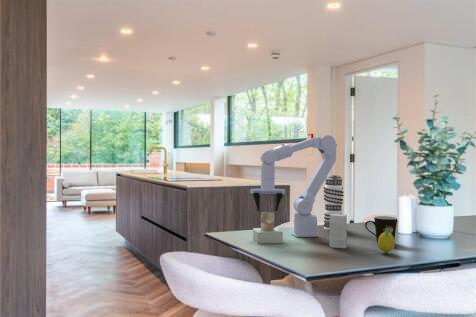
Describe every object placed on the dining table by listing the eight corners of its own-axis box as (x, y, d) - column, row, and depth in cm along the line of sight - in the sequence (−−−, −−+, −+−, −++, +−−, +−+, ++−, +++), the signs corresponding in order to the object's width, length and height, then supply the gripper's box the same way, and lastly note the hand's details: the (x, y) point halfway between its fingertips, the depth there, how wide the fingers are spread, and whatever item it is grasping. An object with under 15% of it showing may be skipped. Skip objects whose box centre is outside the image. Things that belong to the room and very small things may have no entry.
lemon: (388, 256, 141) (388, 227, 141) (373, 253, 146) (373, 224, 146) (399, 254, 145) (399, 225, 145) (384, 250, 150) (385, 223, 150)
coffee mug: (397, 242, 166) (398, 217, 166) (396, 246, 158) (396, 219, 158) (367, 239, 171) (367, 215, 171) (364, 243, 163) (364, 217, 163)
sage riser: (276, 237, 172) (277, 227, 172) (282, 242, 162) (282, 232, 162) (252, 237, 171) (253, 228, 171) (257, 243, 161) (257, 232, 161)
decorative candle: (322, 226, 200) (323, 174, 200) (342, 227, 199) (342, 175, 199) (323, 230, 191) (324, 175, 191) (344, 230, 190) (345, 175, 190)
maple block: (274, 230, 167) (274, 212, 167) (269, 231, 164) (270, 213, 164) (265, 229, 169) (265, 211, 169) (260, 230, 166) (261, 212, 166)
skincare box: (346, 246, 157) (347, 214, 157) (345, 248, 153) (346, 216, 153) (330, 245, 159) (330, 213, 159) (329, 247, 155) (329, 215, 155)
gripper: (282, 178, 181) (281, 209, 182) (249, 178, 180) (248, 209, 180) (286, 179, 174) (285, 211, 175) (252, 178, 173) (251, 211, 173)
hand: (267, 210), depth 177 cm, fingers open, 7 cm apart
